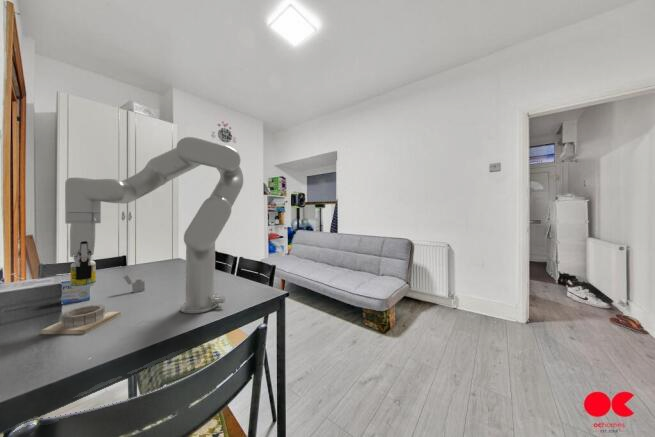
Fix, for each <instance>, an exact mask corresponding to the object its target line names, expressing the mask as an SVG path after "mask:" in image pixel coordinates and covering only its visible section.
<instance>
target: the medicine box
mask: <svg viewBox="0 0 655 437" xmlns="http://www.w3.org/2000/svg"><path fill="white" fill-rule="evenodd" d="M60 282H61V283H62V291H63V295H62V303H63V305H69V304H74V302H75V303H80V302H85V301H90V300H91V298H92V286H89V287H84V288H72V287H71V278H67V279H66V278H65V279H62V280H60ZM68 303H69V304H68Z"/></svg>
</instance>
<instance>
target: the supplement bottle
mask: <svg viewBox="0 0 655 437" xmlns="http://www.w3.org/2000/svg"><path fill="white" fill-rule="evenodd" d="M87 255H89V254H87ZM79 256H81V255H79ZM90 259H91V265H92V277H91V278H89V279H82V280H76V266H77V255H73V261H74V262H72V263H71V264H70V279H71V287H72V288H84V287H89V286H91V287H93V286H95V285H96V282H97V270H96V269H97V268H96V266H97V264H96V261H95V260H93V259H94V258H93V255H91V257H90Z"/></svg>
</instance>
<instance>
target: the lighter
mask: <svg viewBox="0 0 655 437" xmlns="http://www.w3.org/2000/svg"><path fill="white" fill-rule="evenodd" d="M122 278H123V279H124V281H126V283H127V284H128V285H132V286H131V288H132V289H131V290H132V293H139V292H145V291H146V290H145V284H146V283H145V280H143V279H142V278H138V279H135V281H132V280H131V278H130V277H129V275H128V274H125V275H123V276H122Z"/></svg>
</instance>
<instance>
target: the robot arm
mask: <svg viewBox="0 0 655 437" xmlns="http://www.w3.org/2000/svg"><path fill="white" fill-rule="evenodd" d="M240 164H241V156H240V154H239V152H238V151H237V150H236V149H235V148H233V147H231V146H228V145H226V144H222V143H221V144H220V143H217V142H213V141H211V140H205V139H202V138H200V137H199V138H198V137H194V136H186V137H183V138H181V139H180V140H178V141H177V143H176V147H174V148H172V149H170V150H168V151H165V152H164V153H161V154H160V155H157V156H154V157H153V158H151V159H150V160H149V161H148V162H147V163H146V164H145V166H144V167H143V168H142V169H141V170H140V171H139V172H137V173H136V174H133V175H132V176H130V177H127V178H126V179H123V180H120V179H115V178H100V179H96V178H95V179H93V178H88V177H87V178H86V177H68V178H66V179H65V182H64V183H65V185H64V187H65V188H64V192H65V193H64V194H65V195H64V196H65V198H64V201H65V202H64V207H65V208H64V211H65V213H64V215H65V216H64V218H65V219H64V221H65V222H64V223H65V224H70V226H69V257H71V258H74V256H75V255H77V266H76V280H82V279H89V278H91V277H92V265H91V260H92V259H90V257H91V255H92V256H93V255H95V254H94V253H95V247H96V246H95V244H96V224H101V220H102V218H101V214H102V212H101V211H102V210H101V209H102V206H101V205H102V203H111V204H123V205H124V204H129V203H132V202H134V201H136V200H138V199H140V198H142V197H144V196H146V195H149V194H150V193H152V192H153V191H155V190H157V189H158V188H160V187H161V186H163V185H166V184H167V183H168V182H170V181H172V180H173V179H176V178H178V177H180V176H181V175H184V174H185V173H189V171H192V170H194V169H196V168H197V167H200V166H201V165H202V166H206V167H211V168H216V170H217V171H218V173H219V174H220V177H219V181H217V184H216V185H215V188H214V189H213V191H212V192H211V194H210V196H209V197H208V198H206V199H205V200H204V201H203V202H202V203H201V206H199V209H198V210H197V212H196V214H195V215H194V217H193V218H192V220H191V222H190V223H189V225H188V227H187V228H186V229H185V232H184V234H183V243H184V245H185V246H186V247H185V302H184V303H182V304H181V305H180V312H182V313H185V314H201V313H206V312H210V311H211V310H214V309H216V308H217V307H219V305H220V304H225V302H226V297H225V296H224V295H218V291H216V290H215V289H216V286H215V285H216V282H215V281H216V279H215V278H216V242H217V239H218V238H219V236H220V235H221V233H222V230H224V228H225V226H226V224H227V222H228V221H229V219H230V216H231V214H232V207H233V206H234V204H235V202H236V200H237V198H238V196H239V195H240V192H241V191H242V189H243V185H244V174H243V170H242V168H241V166H240ZM101 202H102V203H101ZM87 254H89V255H87ZM79 255H81V256H79Z"/></svg>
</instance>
